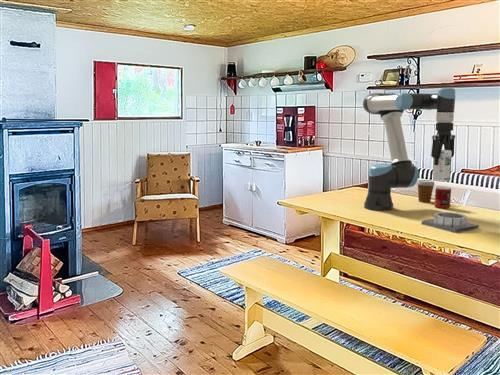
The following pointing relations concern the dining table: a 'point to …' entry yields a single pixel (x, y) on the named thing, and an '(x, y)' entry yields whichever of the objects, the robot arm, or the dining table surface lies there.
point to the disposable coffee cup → (425, 190)
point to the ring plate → (449, 228)
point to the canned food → (442, 197)
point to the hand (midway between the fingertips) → (441, 171)
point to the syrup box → (443, 167)
